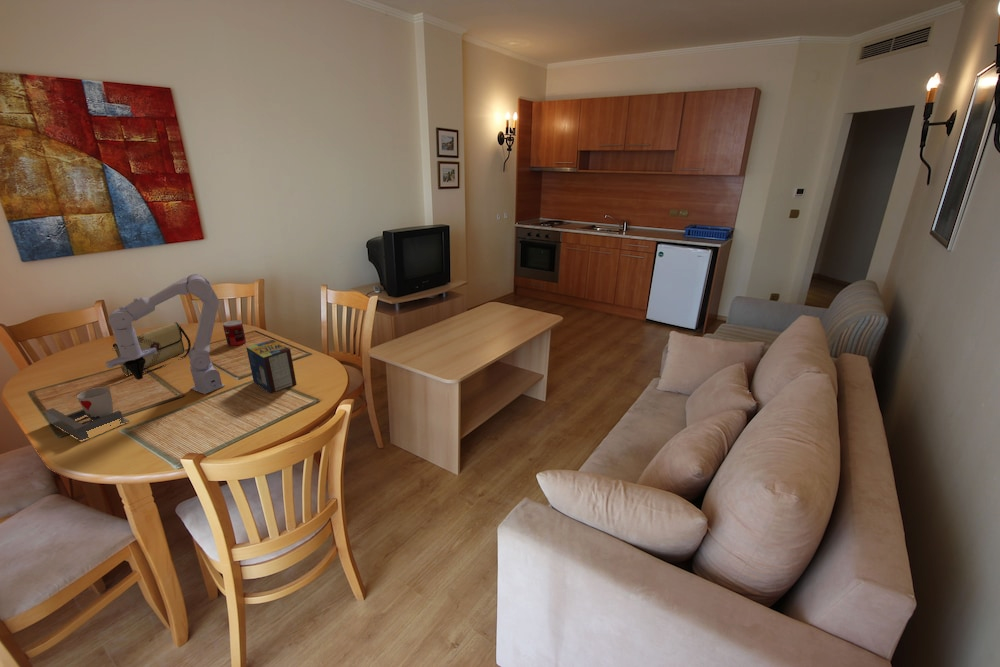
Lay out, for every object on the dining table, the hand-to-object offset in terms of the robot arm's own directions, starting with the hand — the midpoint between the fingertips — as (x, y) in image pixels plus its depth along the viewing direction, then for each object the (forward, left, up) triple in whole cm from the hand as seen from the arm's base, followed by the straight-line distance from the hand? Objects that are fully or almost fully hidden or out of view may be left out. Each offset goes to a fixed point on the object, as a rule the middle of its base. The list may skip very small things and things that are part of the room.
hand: (139, 378), depth 155 cm
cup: (0, +13, -10) cm, 16 cm away
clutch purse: (+30, -20, -10) cm, 37 cm away
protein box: (-28, -32, -10) cm, 44 cm away
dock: (0, +15, -9) cm, 18 cm away
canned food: (+24, -50, -10) cm, 56 cm away
